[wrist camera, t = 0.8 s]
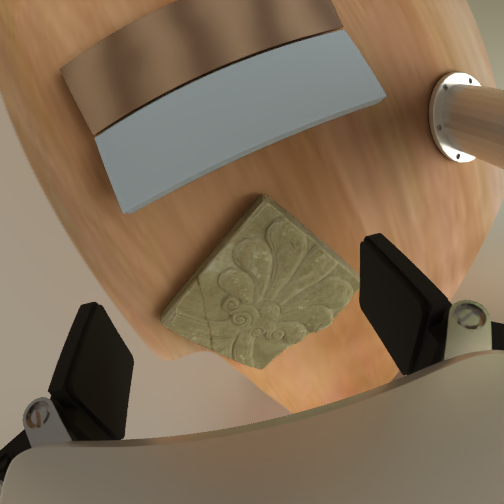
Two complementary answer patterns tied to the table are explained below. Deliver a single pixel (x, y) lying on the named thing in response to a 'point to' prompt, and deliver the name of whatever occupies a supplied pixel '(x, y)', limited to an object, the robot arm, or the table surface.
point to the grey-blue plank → (234, 115)
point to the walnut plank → (183, 50)
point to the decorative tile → (262, 288)
